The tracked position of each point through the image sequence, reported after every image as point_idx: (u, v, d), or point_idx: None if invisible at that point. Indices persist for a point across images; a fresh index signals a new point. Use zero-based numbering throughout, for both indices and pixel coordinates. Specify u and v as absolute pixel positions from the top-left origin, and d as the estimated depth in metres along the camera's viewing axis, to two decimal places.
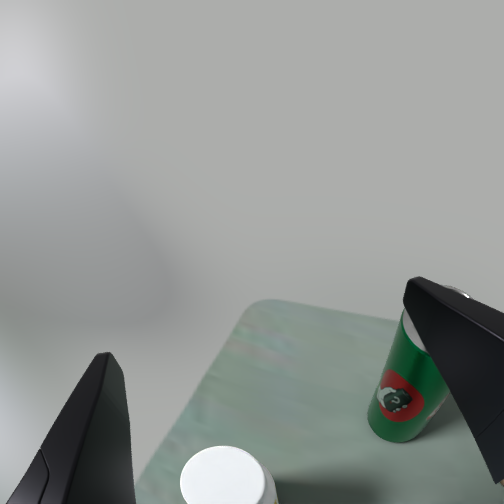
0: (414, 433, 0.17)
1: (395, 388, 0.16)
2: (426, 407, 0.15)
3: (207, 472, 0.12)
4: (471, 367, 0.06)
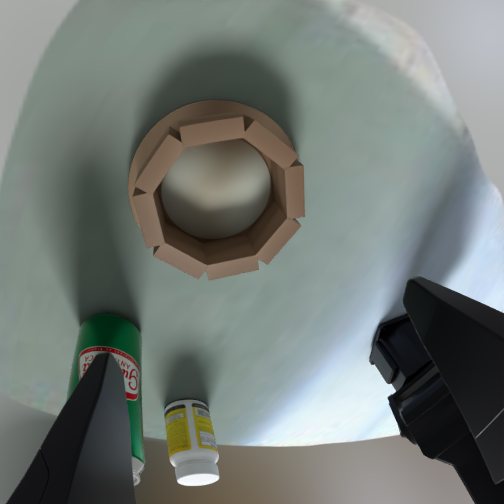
0: (140, 348, 0.21)
1: None
2: None
3: (193, 482, 0.23)
4: (471, 367, 0.06)
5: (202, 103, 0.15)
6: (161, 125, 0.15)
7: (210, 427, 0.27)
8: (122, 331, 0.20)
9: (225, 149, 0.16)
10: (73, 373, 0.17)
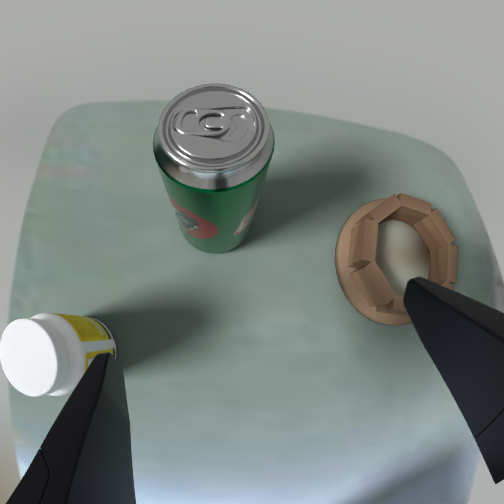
0: (231, 245, 0.21)
1: (177, 209, 0.16)
2: (222, 228, 0.16)
3: (14, 352, 0.12)
4: (471, 367, 0.06)
5: None
6: None
7: None
8: None
9: (421, 252, 0.23)
10: None
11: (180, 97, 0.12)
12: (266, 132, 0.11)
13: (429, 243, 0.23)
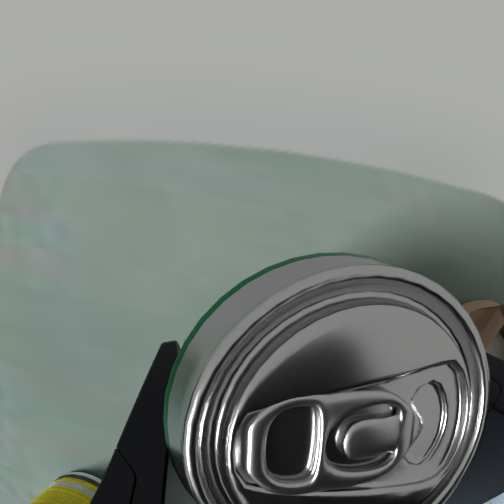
0: None
1: None
2: None
3: None
4: None
5: None
6: None
7: None
8: None
9: None
10: None
11: (248, 338, 0.03)
12: (483, 431, 0.03)
13: None
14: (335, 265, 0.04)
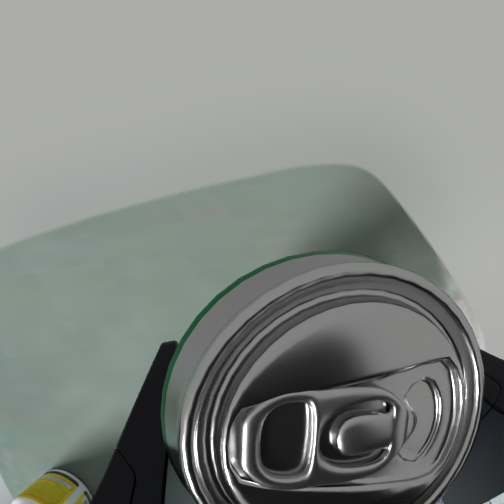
0: None
1: None
2: None
3: None
4: None
5: None
6: None
7: None
8: None
9: None
10: None
11: (242, 335, 0.03)
12: (478, 429, 0.03)
13: None
14: (329, 264, 0.04)
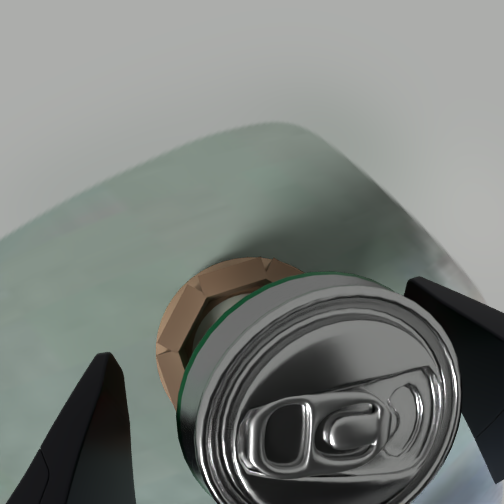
0: None
1: None
2: None
3: None
4: (471, 367, 0.06)
5: (293, 268, 0.17)
6: None
7: None
8: None
9: None
10: None
11: (249, 348, 0.04)
12: (456, 429, 0.04)
13: None
14: (323, 284, 0.05)
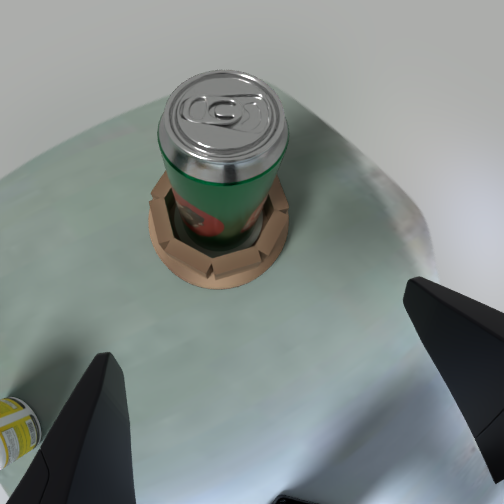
0: (236, 243, 0.20)
1: (181, 204, 0.15)
2: (229, 225, 0.15)
3: None
4: (471, 367, 0.06)
5: None
6: None
7: (24, 444, 0.15)
8: None
9: None
10: None
11: (188, 83, 0.10)
12: (282, 122, 0.10)
13: None
14: None
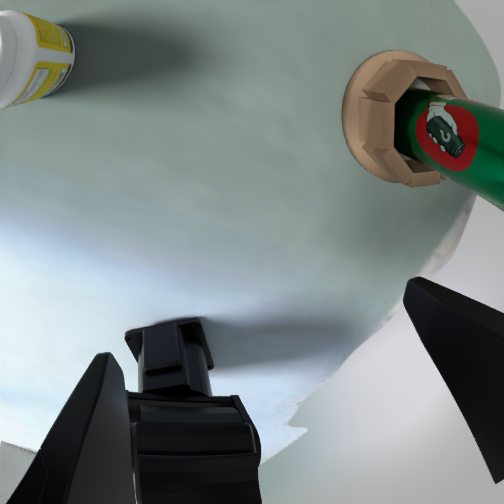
0: (408, 156, 0.18)
1: (459, 133, 0.12)
2: (449, 172, 0.14)
3: None
4: (471, 367, 0.06)
5: None
6: None
7: (36, 95, 0.11)
8: None
9: None
10: None
11: None
12: None
13: None
14: None
